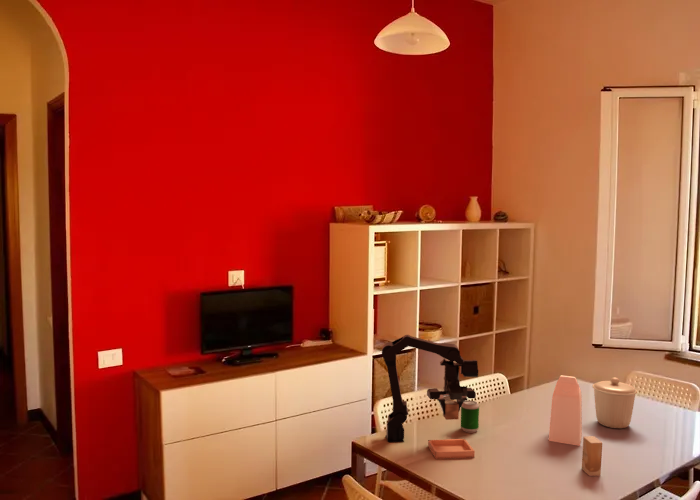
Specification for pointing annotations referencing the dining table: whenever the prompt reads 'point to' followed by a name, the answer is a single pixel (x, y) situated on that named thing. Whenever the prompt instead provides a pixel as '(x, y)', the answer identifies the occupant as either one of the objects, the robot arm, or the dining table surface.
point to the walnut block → (451, 410)
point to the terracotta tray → (451, 448)
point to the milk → (566, 412)
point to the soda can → (470, 416)
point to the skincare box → (592, 456)
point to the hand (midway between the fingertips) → (450, 414)
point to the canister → (614, 403)
